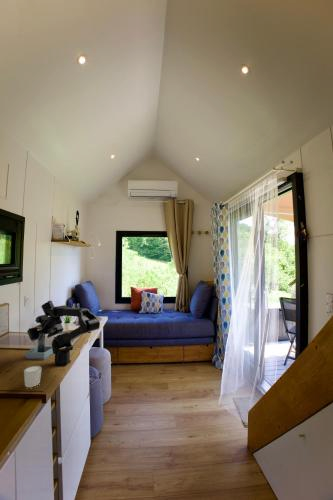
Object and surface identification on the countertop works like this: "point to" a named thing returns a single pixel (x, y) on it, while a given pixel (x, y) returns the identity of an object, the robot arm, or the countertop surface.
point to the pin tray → (37, 355)
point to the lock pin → (41, 343)
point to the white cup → (32, 376)
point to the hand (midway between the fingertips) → (40, 339)
